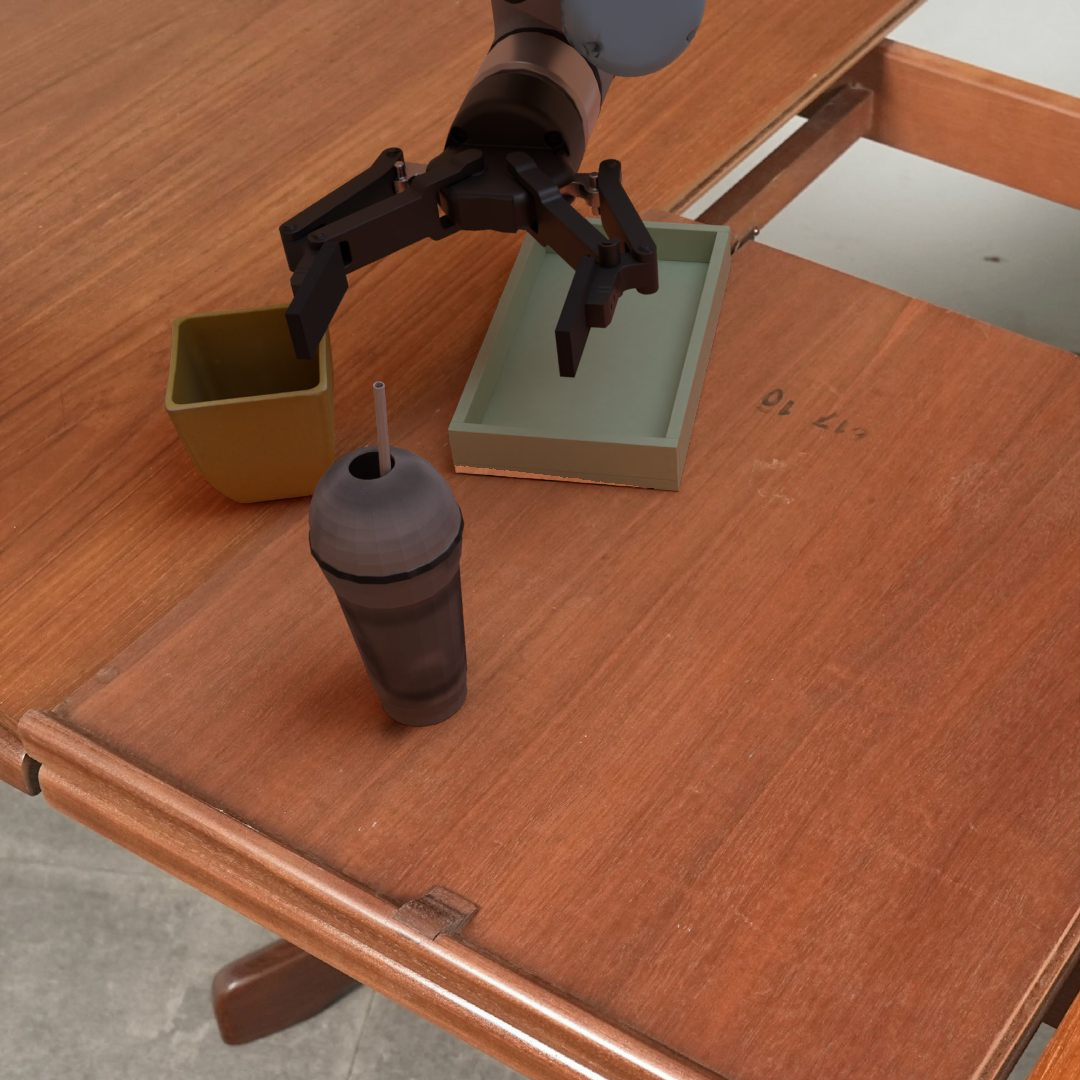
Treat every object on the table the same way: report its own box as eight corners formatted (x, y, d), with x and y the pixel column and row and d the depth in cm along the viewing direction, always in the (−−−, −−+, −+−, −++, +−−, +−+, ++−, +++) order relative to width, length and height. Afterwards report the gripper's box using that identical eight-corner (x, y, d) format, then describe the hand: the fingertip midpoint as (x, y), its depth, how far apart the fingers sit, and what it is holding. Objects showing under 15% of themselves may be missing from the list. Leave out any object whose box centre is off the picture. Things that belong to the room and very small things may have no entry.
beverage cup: (381, 635, 84) (303, 323, 69) (510, 653, 83) (459, 340, 68) (334, 735, 79) (239, 424, 64) (470, 756, 78) (405, 444, 63)
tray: (678, 491, 91) (676, 447, 89) (454, 473, 93) (447, 429, 90) (730, 268, 107) (730, 225, 104) (538, 256, 108) (533, 213, 106)
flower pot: (357, 514, 91) (326, 389, 84) (205, 533, 90) (162, 408, 83) (354, 421, 96) (325, 298, 90) (212, 438, 96) (172, 315, 89)
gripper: (736, 199, 92) (682, 423, 78) (331, 177, 95) (209, 390, 81) (735, 77, 86) (676, 295, 72) (305, 58, 89) (169, 265, 75)
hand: (429, 346), depth 76 cm, fingers open, 13 cm apart
